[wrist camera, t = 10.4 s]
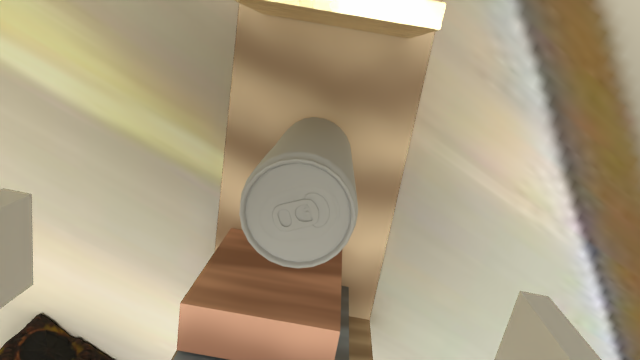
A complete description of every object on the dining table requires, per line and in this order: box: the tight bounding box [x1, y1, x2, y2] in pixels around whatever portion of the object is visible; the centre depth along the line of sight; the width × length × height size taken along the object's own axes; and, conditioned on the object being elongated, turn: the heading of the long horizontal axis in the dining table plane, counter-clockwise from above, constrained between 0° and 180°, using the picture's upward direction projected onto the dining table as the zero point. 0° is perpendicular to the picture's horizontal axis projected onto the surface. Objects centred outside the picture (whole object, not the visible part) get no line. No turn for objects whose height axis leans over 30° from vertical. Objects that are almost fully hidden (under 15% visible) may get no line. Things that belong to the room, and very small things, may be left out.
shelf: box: [171, 0, 442, 360], centre depth 24 cm, size 24×12×12 cm, turn 171°
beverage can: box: [239, 117, 358, 268], centre depth 22 cm, size 5×5×12 cm
